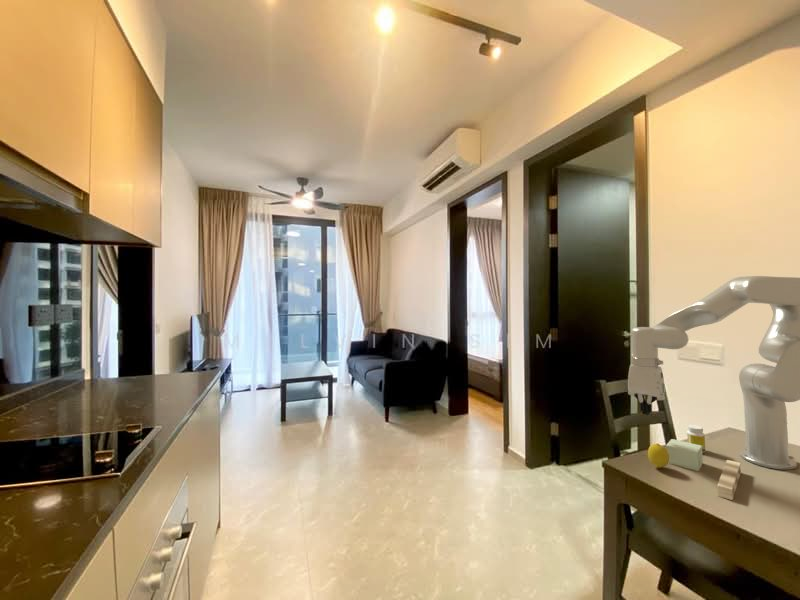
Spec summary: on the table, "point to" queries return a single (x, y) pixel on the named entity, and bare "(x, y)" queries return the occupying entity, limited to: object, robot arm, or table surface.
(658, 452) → the lemon
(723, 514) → the table surface
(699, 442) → the supplement bottle
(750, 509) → the table surface
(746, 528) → the table surface
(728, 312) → the robot arm
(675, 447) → the block
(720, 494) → the beige wavy bar
